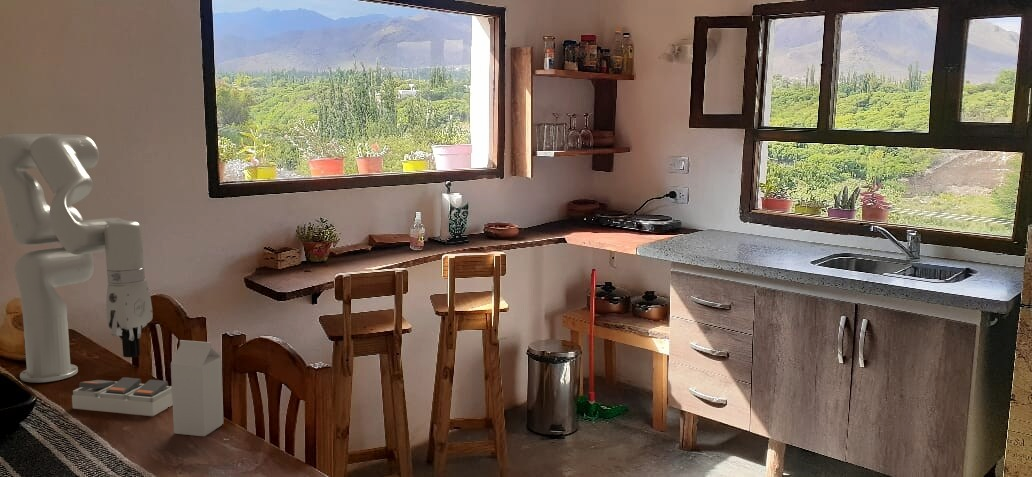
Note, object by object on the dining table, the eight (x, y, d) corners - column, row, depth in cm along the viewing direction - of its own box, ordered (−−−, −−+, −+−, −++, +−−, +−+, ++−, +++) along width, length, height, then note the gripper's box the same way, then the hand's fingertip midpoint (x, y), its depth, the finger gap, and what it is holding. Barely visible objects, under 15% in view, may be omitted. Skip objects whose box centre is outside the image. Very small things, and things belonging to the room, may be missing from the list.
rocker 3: (134, 397, 181) (133, 392, 180) (150, 383, 186) (149, 379, 186) (152, 398, 180) (151, 394, 179) (168, 384, 185) (167, 380, 185)
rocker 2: (106, 394, 182) (106, 390, 182) (124, 381, 188) (123, 376, 187) (124, 396, 181) (123, 391, 181) (141, 382, 187) (140, 378, 186)
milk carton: (204, 437, 168) (201, 347, 165) (173, 434, 169) (169, 344, 166) (223, 424, 175) (220, 338, 172) (193, 421, 176) (189, 335, 173)
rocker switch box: (72, 408, 183) (71, 391, 182) (98, 396, 191) (97, 379, 190) (153, 416, 179) (152, 398, 178) (176, 403, 187) (175, 386, 186)
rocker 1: (79, 387, 183) (79, 381, 183) (97, 384, 189) (98, 379, 189) (96, 388, 182) (96, 383, 182) (114, 385, 188) (115, 380, 188)
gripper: (118, 283, 175) (124, 366, 177) (161, 271, 190) (166, 348, 192) (87, 282, 176) (94, 364, 179) (133, 270, 191) (138, 347, 193)
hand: (131, 356), depth 185 cm, fingers closed
